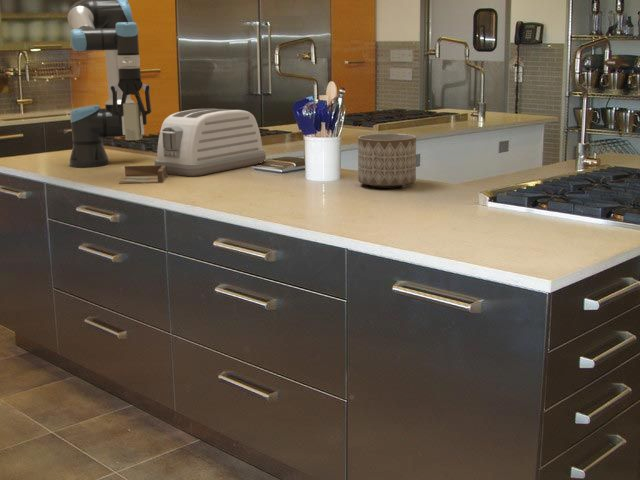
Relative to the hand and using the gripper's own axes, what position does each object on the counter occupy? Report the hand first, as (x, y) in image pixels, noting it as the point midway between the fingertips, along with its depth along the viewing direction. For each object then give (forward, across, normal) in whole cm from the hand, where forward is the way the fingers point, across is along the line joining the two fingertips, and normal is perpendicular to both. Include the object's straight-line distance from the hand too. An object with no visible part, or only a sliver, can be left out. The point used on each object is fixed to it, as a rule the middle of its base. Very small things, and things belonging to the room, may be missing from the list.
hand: (133, 134), depth 314 cm
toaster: (+17, +24, +25) cm, 39 cm away
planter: (+17, +87, -24) cm, 92 cm away
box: (+2, 0, 0) cm, 2 cm away
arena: (+17, +2, +1) cm, 17 cm away
